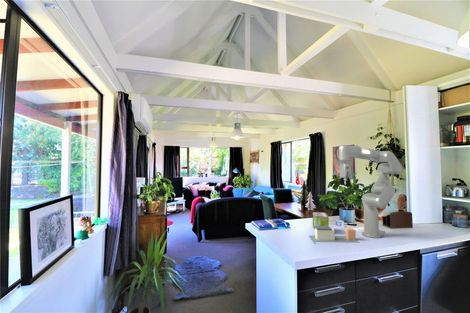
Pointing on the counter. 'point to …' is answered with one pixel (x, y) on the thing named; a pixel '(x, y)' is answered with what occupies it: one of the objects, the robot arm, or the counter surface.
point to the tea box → (320, 219)
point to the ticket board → (339, 239)
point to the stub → (350, 234)
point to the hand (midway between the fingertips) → (345, 185)
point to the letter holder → (398, 220)
